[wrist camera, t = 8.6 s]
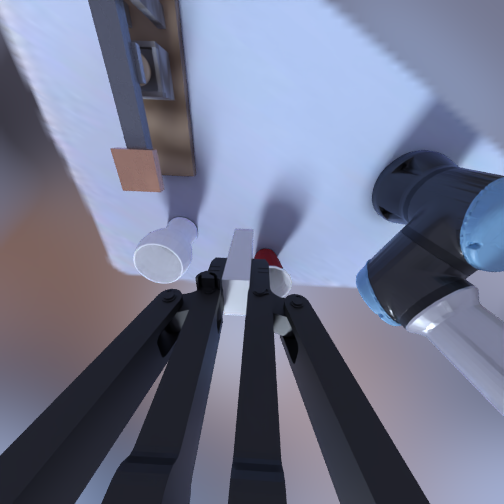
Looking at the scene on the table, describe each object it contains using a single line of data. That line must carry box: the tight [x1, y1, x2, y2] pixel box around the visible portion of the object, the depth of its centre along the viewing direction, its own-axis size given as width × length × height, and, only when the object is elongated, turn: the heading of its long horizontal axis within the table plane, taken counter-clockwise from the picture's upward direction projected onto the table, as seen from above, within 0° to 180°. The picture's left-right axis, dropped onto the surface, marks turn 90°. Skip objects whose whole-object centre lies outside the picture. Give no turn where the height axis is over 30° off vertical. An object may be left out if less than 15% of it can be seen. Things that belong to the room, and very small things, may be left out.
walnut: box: [140, 54, 151, 86], centre depth 29 cm, size 4×4×4 cm
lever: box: [88, 0, 164, 192], centre depth 28 cm, size 23×6×5 cm, turn 178°
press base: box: [123, 0, 196, 176], centre depth 31 cm, size 26×10×15 cm, turn 178°
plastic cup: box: [254, 249, 292, 297], centre depth 51 cm, size 11×11×12 cm
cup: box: [133, 217, 198, 283], centre depth 46 cm, size 11×11×15 cm
